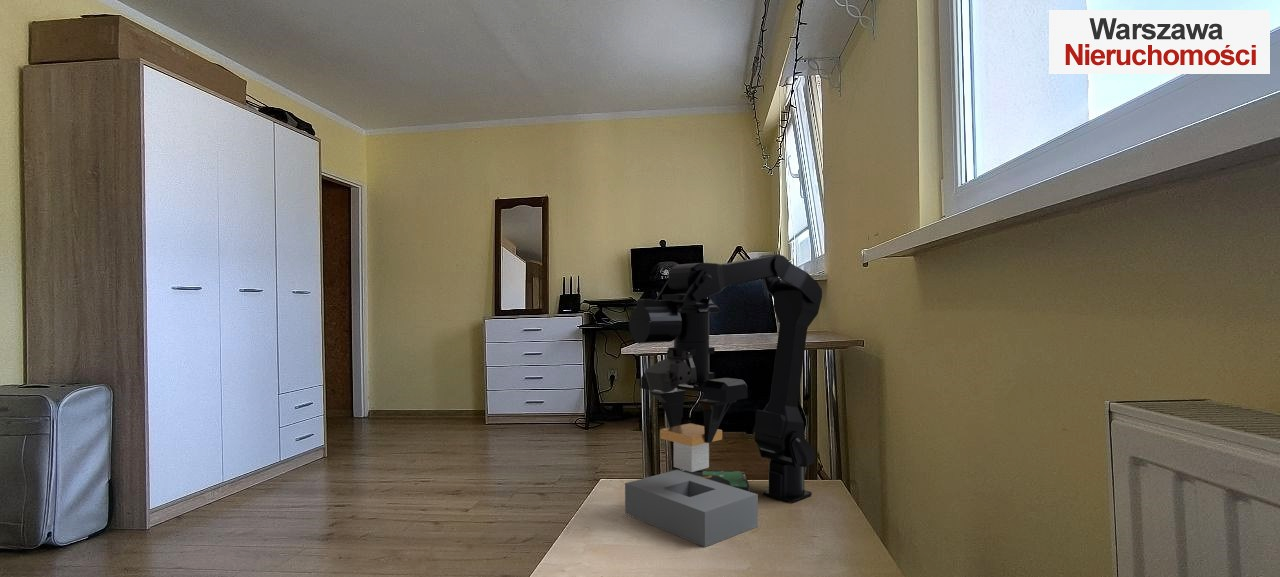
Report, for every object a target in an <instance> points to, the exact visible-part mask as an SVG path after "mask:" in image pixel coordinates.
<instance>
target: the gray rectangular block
mask: <svg viewBox="0 0 1280 577" xmlns="http://www.w3.org/2000/svg"><path fill="white" fill-rule="evenodd" d="M673 470H674V471H670V472H668V471H667V472H662V473H659V474H655V475H652V476H647V477H645V478H641V479H636V480H633V481H628V482H625V483H624V497H625V498H624V513H627V514H629V515H628V516H630V515H631V516H630V517H632V516H633V518H634V517H635V518H634V519H637V520H639V521H640V522H644V523H646V524H649V525H651V526H654V527H656V528H658V529H661V530H663V531H666V532H668V533H670V534H673V535H675V536H678V537H680V538H682V539H684V540H687V541H688V542H692V543H694V544H696V545H698V546H701V547H703V548H707V547H709V546H712V545H715V544H717V543H719V542H722V541H725V540H727V539H730V538H732V537H735V536H737V535H739V534H742V533H744V532H748V531H749V530H752V529H753V530H754V529H755V528H757V527H759V501H758V500H759V498H758V496H759V495H758V493H755V492H752V491H750V492H749V491H745V490H742V489H739V488H735V487H732V486H729V485H726V484H722V483H719V482H716V481H712V480H709V479H706V478H702V477H699V476H696V475H693V474H689V473H686V472H683V471H679V470H680V469H673ZM627 514H626V515H627Z"/></svg>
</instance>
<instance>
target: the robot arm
mask: <svg viewBox="0 0 1280 577" xmlns="http://www.w3.org/2000/svg"><path fill="white" fill-rule="evenodd" d="M758 280H762V281H763V285H764V289H765V291H766V292H767V293H768V294H769V296H771V297H772V298H773V311H774V314H775V315H776V319H777V320H778V323H779V326H778V327H779V329H778V335H777V342H776V343H777V344H776V349H775V350H776V351H775V359H774V366H773V372H772V379H771V380H772V381H771V388H770V395H769V401H768V403H767V404H766V406H765V407H764V408H763V410H761V409H757V410H756V412H755V420H754V427H753V429H752V433H754V442H755V443H756V444H757V448H758V450H759V454H760V457H761V458H763V459H767V460H770V461H769V463H768V464H769V466H768V467H769V470H768V488H767V489H764V490H762V495H765V496H768V497H772V498H775V499H778V500H782V501H785V502H788V503H795V502H797V501H799V500H802V499H805V498H808V497H811V496H812V495H813V492H812V491H808V490H805V468H808V467H810V465H814V462H815V458H816V455H817V453H816V451H815V449H814V448H813V447H812V445H811V444H810V443H809V442H808V440H807V439H806V438H805V423H804V422H805V421H804V420H803V417H802V414H801V412H800V409H799V407H798V406H799V398H800V397H799V396H800V389H801V382H802V375H803V374H802V373H803V366H804V358H805V350H806V342H807V334H808V328H809V326H811V324H812V323H813V321H814V319H815V318H817V316H818V314H819V310H820V306H821V302H822V298H823V290H822V287H821V286H820V284H819V282H818V281H817V280H816V279H814V278H813V277H812V276H811V275H810V274H809V273H808V272H807V271H805V270H803V269H801V268H800V267H798V266H797V265H794V264H793V263H791V262H790V260H789V259H787V257H786V256H785V255H782V254H780V253H775V254H774V253H773V254H764V255H760V256H758V257H755V258H750V259H749V258H748V259H743V260H742V259H741V260H737V261H732V262H725V263H721V264H720V263H713V262H697V263H696V262H694V263H683V264H680V263H679V264H676V265H674V266H673V267H671V269H670V271H669V273H668V278H667V280H666V282H665V284H664V285H663V287H662V288H661V290H660V291H659V294H658V295H657V296H656V299H651V298H637V301H636V307H635V308H634V309H633V311H632V313H631V315H630V318H629V321H628V328H629V333H630V336H631V338H632V340H633V341H634V342H636V343H637V344H655V343H656V344H657V343H671V342H673V347H669V346H668V348H667V351H666V358H664V359H662V360H659V361H658V362H656V363H654V364H652V365H650V366H649V367H648V368H646V369H644V373H643V374H642V375H641V377H640V388H641V389H642V390H649V394H650V395H651V396H654V398H656V399H657V400H658V401H659V402H660V403H661V404H660V405H661V406H662V408H663V411H664V413H665V417H666V419H667V423H668V427H674V426H679V425H682V418H683V410H684V404H685V396H686V390H687V391H692V392H693V391H694V392H699V393H703V395H704V397H705V399H704V398H703V399H699V400H697V402H698V403H699V405H700V407H702V409H703V426H704V434H705V442H706V443H709V444H711V443H712V440H713V438H714V436H715V434H716V432H717V429H719V427H720V425H721V422H722V421H723V418H724V416H725V415H726V413H727V411H728V410H729V408H730V406H731V404H732V403H733V404H734V403H736V402H737V401H738V400H742V399H748V396H749V395H748V385H747V383H746V381H744V380H743V379H738V378H732V377H722V378H715V375H716V374H715V372H710V355H714V354H715V349H716V348H715V347H714V346H710V314H711V313H713V314H716V313H717V314H718V313H720V312H721V309H720V307H719V306H717V304H715V303H714V302H713V300H712V299H711V297H713V296H714V295H717V294H719V293H721V292H722V291H723V290H724V289H725V288H728V287H730V286H735V285H739V284H744V283H749V282H753V281H758Z"/></svg>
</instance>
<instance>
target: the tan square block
mask: <svg viewBox="0 0 1280 577" xmlns="http://www.w3.org/2000/svg"><path fill="white" fill-rule="evenodd" d="M659 431H660V435H659V436H660V439H661V440H665V441H670V442H673V467H674V468H676V469H678V470H686V471H689V472H694V471H698V470H704V469H708V468H709V467H710V443H706V442H705V434H704V425H700V424H695V423H685V424H681V425H679V426H674V427H670V426H668V427H665V428H661V429H660V430H659ZM721 440H723V430H722V429H719V428H718V429H717V432H716V434H715V436H714V438H713V440H712V442H717V441H721ZM712 442H711V443H712Z"/></svg>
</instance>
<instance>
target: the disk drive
mask: <svg viewBox="0 0 1280 577" xmlns="http://www.w3.org/2000/svg"><path fill="white" fill-rule="evenodd" d="M674 470H675V469H668V471H667V472H670V471H674ZM678 470H679V471H683V472H686V473H689V474H693V475H696V476H699V477H702V478H706V479H709V480H712V481H716V482H719V483H722V484H726V485H729V486H732V487H735V488H739V489H742V490H745V491H749V492H751V489H750V488H751V487H750V484H749V482H748V478H747V476H746V474H745V472H744V471H734V470H710V469H709V470H708V469H707V470H704V469H702V470H698V471H694V472H689V471H686V470H683V469H678Z"/></svg>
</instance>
